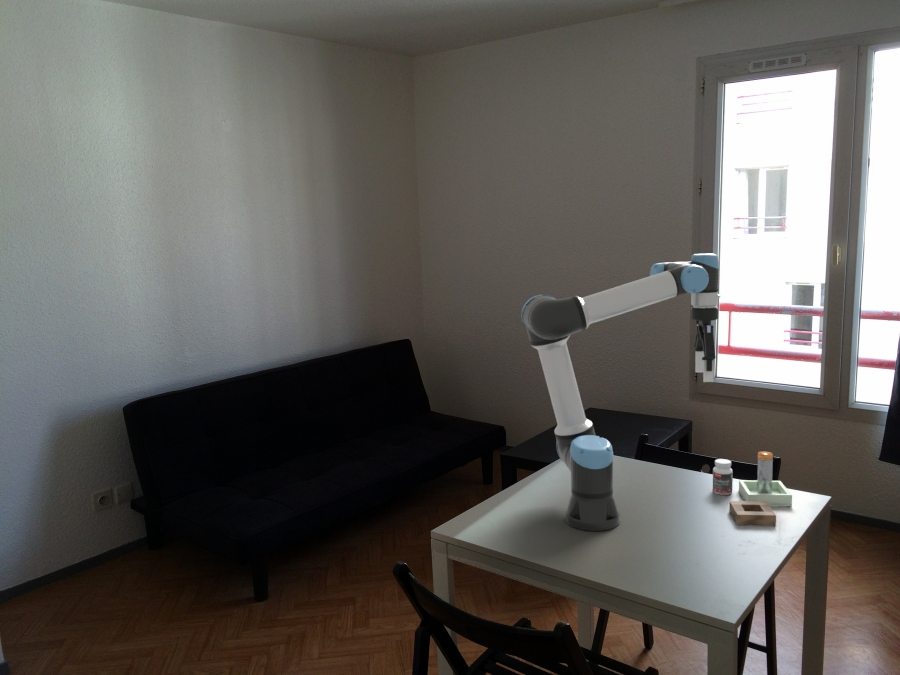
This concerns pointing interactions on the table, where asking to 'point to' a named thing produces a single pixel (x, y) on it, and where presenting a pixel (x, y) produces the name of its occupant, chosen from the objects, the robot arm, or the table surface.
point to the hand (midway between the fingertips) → (704, 377)
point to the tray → (777, 497)
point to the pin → (765, 472)
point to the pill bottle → (722, 477)
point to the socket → (752, 513)
